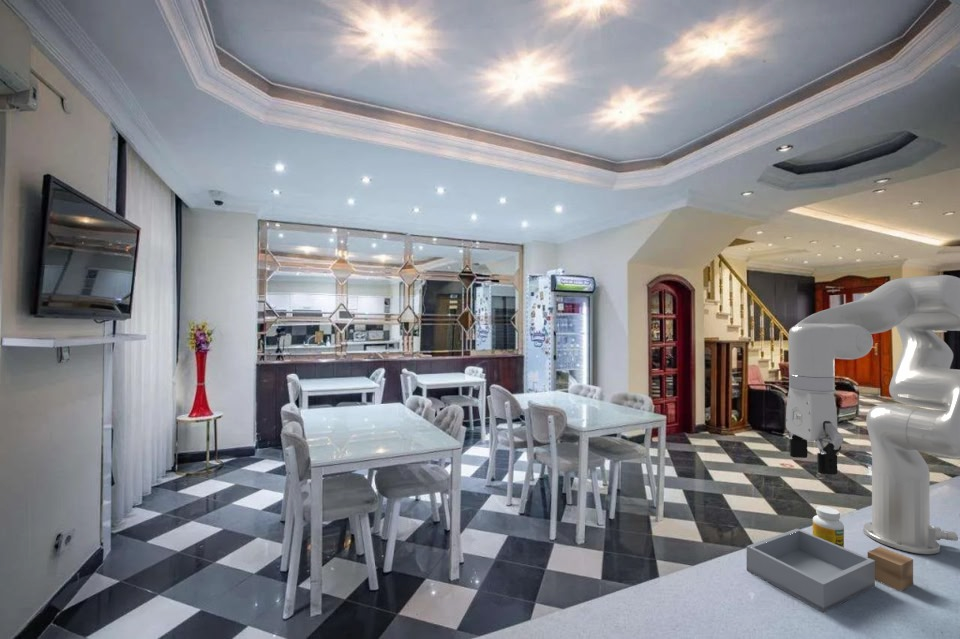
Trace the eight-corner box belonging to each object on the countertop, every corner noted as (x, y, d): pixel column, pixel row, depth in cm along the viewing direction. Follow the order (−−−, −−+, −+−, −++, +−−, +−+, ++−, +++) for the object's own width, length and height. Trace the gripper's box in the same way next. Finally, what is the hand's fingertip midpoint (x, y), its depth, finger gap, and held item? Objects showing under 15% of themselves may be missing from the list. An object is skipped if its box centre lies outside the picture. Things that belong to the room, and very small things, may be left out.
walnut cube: (880, 570, 86) (880, 546, 86) (913, 584, 81) (913, 559, 81) (867, 576, 84) (867, 552, 84) (900, 591, 79) (900, 565, 79)
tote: (797, 550, 93) (797, 528, 93) (874, 586, 80) (874, 560, 80) (746, 570, 86) (746, 546, 86) (823, 612, 73) (823, 584, 73)
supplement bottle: (817, 543, 96) (817, 502, 96) (847, 554, 91) (847, 511, 91) (808, 551, 93) (808, 508, 93) (839, 562, 88) (839, 517, 88)
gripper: (770, 377, 96) (771, 451, 96) (817, 390, 79) (818, 480, 79) (806, 378, 95) (807, 452, 95) (861, 391, 78) (862, 482, 78)
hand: (812, 464), depth 87 cm, fingers open, 9 cm apart
